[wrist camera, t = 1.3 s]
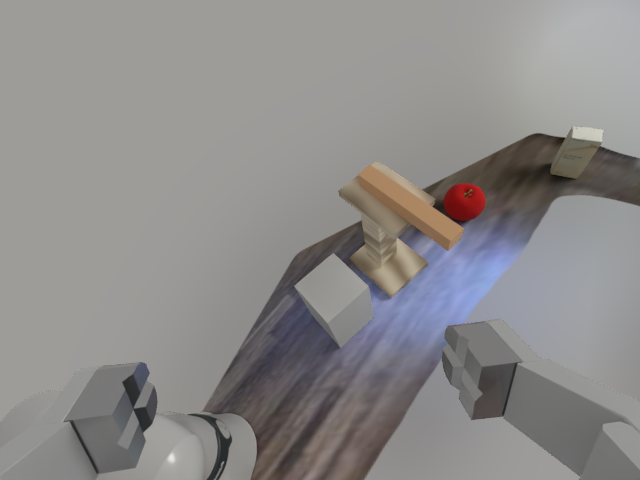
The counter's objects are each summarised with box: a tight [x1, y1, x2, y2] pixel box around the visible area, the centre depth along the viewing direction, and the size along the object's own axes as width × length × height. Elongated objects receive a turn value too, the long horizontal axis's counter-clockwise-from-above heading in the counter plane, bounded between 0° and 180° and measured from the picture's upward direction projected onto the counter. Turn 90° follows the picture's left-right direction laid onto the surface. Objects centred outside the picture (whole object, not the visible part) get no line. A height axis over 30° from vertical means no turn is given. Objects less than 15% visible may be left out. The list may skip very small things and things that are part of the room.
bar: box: [358, 165, 464, 251], centre depth 57 cm, size 3×20×3 cm, turn 40°
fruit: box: [444, 184, 485, 221], centre depth 82 cm, size 9×9×10 cm
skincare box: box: [550, 125, 604, 179], centre depth 81 cm, size 6×4×12 cm
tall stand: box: [338, 161, 435, 298], centre depth 71 cm, size 12×14×26 cm
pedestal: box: [294, 253, 374, 348], centre depth 70 cm, size 10×10×17 cm
